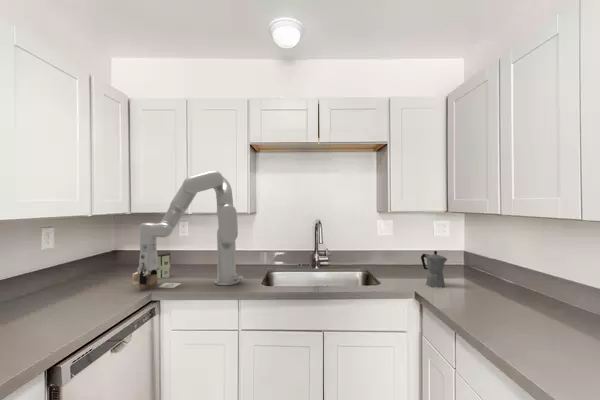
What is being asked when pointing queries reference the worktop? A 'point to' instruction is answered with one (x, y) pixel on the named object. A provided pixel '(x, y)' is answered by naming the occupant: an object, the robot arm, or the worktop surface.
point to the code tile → (169, 285)
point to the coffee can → (163, 265)
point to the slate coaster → (147, 289)
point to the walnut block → (149, 282)
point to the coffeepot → (434, 269)
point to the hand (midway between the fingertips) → (148, 281)
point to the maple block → (136, 278)
